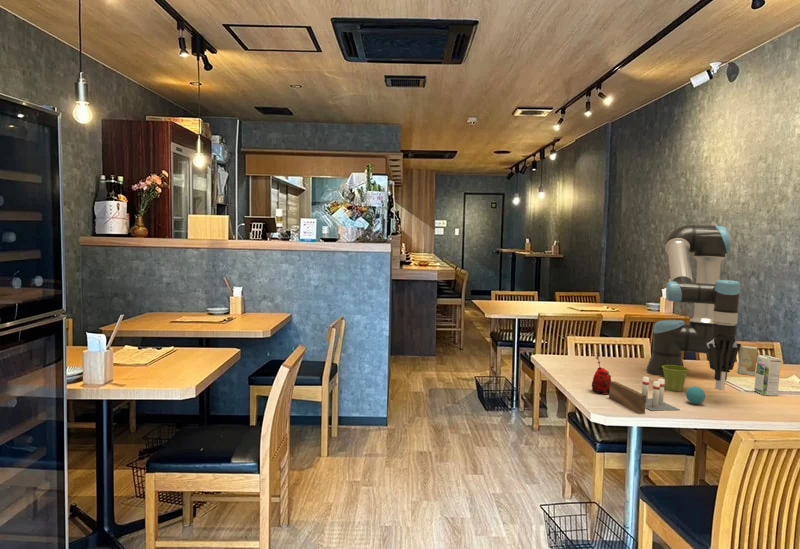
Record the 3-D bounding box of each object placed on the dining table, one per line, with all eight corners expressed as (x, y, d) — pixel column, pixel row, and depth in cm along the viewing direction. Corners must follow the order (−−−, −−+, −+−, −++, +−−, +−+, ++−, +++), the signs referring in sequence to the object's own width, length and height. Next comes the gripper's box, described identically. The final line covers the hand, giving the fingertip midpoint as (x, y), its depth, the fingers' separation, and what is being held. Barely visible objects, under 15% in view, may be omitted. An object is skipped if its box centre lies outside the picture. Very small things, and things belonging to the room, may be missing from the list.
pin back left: (655, 406, 193) (657, 380, 192) (659, 408, 191) (661, 382, 190) (650, 406, 192) (652, 380, 192) (654, 408, 190) (656, 382, 190)
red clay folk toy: (611, 396, 204) (614, 355, 203) (591, 393, 206) (593, 353, 205) (611, 391, 211) (613, 351, 210) (591, 388, 213) (593, 349, 212)
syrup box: (753, 391, 218) (756, 355, 217) (767, 391, 218) (770, 355, 217) (764, 395, 212) (767, 358, 211) (778, 396, 213) (781, 358, 212)
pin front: (660, 403, 197) (662, 378, 196) (664, 405, 195) (666, 380, 194) (655, 403, 196) (657, 378, 196) (659, 405, 194) (660, 380, 193)
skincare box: (739, 374, 247) (741, 346, 246) (737, 372, 251) (739, 345, 251) (755, 376, 245) (758, 348, 244) (753, 373, 249) (756, 346, 248)
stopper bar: (614, 397, 202) (615, 381, 201) (644, 413, 184) (646, 395, 184) (609, 397, 202) (610, 381, 201) (639, 413, 184) (640, 395, 183)
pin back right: (645, 401, 199) (646, 376, 198) (648, 403, 197) (650, 377, 196) (639, 401, 198) (641, 376, 198) (643, 403, 196) (645, 377, 196)
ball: (696, 401, 202) (697, 384, 201) (708, 406, 196) (709, 389, 195) (681, 401, 200) (683, 384, 200) (693, 406, 194) (694, 389, 194)
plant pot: (676, 394, 210) (678, 371, 210) (655, 387, 219) (656, 365, 218) (692, 391, 215) (694, 369, 214) (670, 385, 223) (672, 364, 222)
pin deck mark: (655, 398, 202) (655, 398, 202) (679, 410, 190) (680, 409, 190) (628, 399, 200) (628, 398, 200) (650, 410, 187) (651, 410, 187)
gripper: (732, 322, 203) (727, 386, 204) (700, 322, 200) (696, 386, 201) (749, 325, 195) (743, 392, 197) (716, 325, 193) (711, 392, 194)
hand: (719, 389), depth 199 cm, fingers closed
